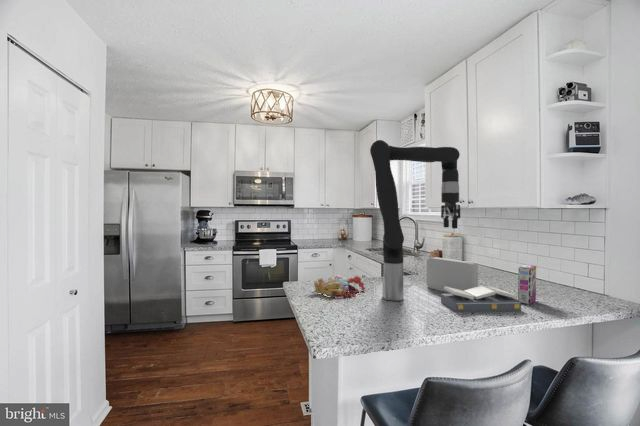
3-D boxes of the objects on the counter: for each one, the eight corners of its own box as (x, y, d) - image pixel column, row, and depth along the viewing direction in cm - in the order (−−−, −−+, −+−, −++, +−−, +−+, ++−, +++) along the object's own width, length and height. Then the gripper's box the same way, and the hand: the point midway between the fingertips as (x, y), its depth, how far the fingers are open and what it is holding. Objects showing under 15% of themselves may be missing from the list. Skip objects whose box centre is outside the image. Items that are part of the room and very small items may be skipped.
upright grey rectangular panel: (480, 296, 156) (480, 262, 156) (472, 298, 153) (472, 263, 153) (434, 286, 179) (434, 256, 179) (426, 287, 175) (426, 257, 175)
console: (455, 311, 132) (455, 299, 132) (440, 302, 146) (440, 291, 146) (521, 311, 133) (521, 298, 133) (500, 301, 147) (500, 290, 147)
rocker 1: (454, 294, 134) (455, 291, 134) (443, 288, 144) (444, 286, 144) (473, 299, 134) (474, 296, 134) (461, 293, 145) (462, 290, 145)
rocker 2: (476, 299, 134) (476, 296, 134) (464, 293, 145) (463, 290, 145) (495, 294, 134) (494, 291, 134) (481, 288, 145) (481, 285, 145)
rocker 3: (498, 293, 135) (499, 291, 135) (484, 288, 145) (485, 285, 145) (517, 298, 135) (517, 296, 135) (501, 292, 145) (502, 290, 145)
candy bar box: (530, 305, 141) (530, 268, 141) (517, 303, 145) (517, 267, 145) (536, 300, 149) (536, 265, 149) (524, 298, 152) (524, 264, 152)
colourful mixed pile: (348, 303, 147) (348, 282, 147) (306, 296, 160) (306, 277, 160) (369, 291, 169) (369, 274, 169) (330, 286, 181) (330, 270, 181)
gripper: (435, 193, 152) (435, 227, 152) (449, 191, 138) (449, 228, 138) (451, 193, 153) (451, 227, 153) (466, 191, 138) (466, 228, 138)
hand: (450, 227), depth 145 cm, fingers open, 8 cm apart
